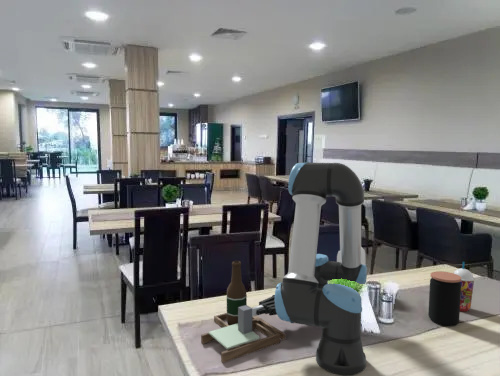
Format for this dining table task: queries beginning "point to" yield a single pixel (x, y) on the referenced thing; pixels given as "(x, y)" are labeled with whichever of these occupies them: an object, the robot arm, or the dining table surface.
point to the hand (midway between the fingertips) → (247, 313)
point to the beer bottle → (235, 294)
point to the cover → (237, 330)
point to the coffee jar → (444, 298)
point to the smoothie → (465, 288)
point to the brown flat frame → (244, 349)
